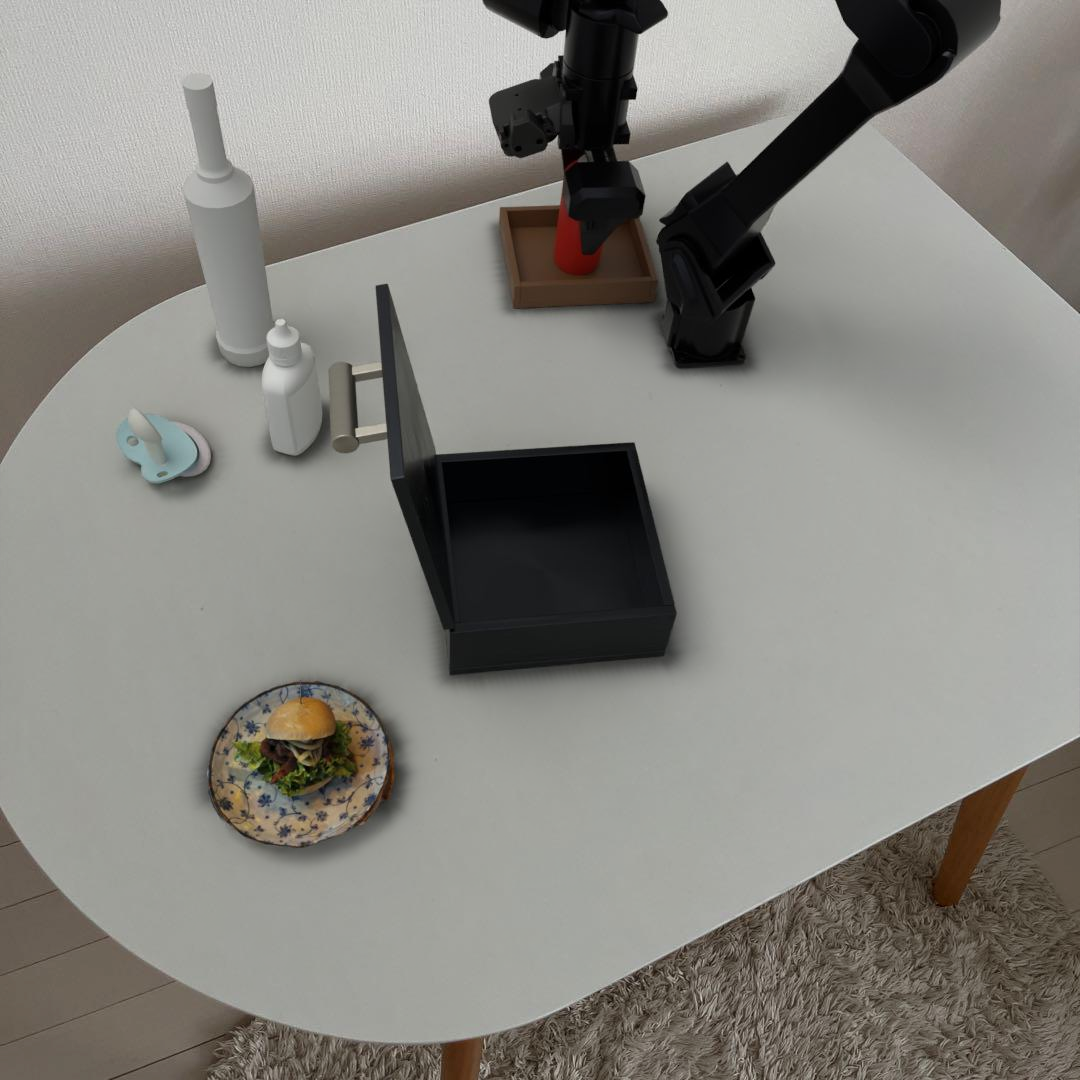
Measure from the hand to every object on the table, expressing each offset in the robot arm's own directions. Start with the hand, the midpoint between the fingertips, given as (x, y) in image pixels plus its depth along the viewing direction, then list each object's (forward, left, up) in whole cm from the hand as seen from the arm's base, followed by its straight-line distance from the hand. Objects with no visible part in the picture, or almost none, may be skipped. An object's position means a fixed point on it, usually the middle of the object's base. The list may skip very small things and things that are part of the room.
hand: (579, 220), depth 101 cm
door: (+17, +35, +9) cm, 40 cm away
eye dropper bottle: (+26, +19, -5) cm, 33 cm away
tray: (0, 0, -5) cm, 5 cm away
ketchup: (0, 0, -4) cm, 4 cm away
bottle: (+30, +9, -5) cm, 32 cm away
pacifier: (+36, +21, -5) cm, 42 cm away
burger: (+26, +49, -5) cm, 56 cm away
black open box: (+8, +35, -5) cm, 36 cm away
